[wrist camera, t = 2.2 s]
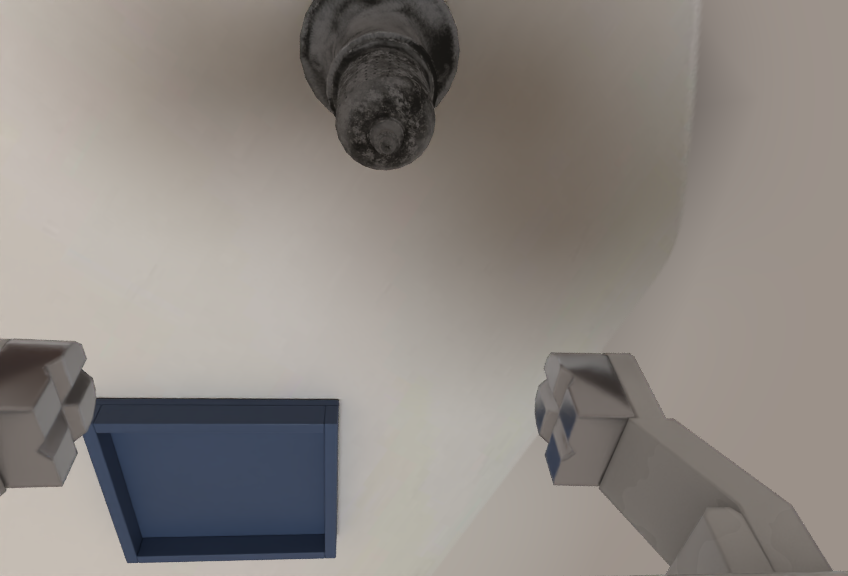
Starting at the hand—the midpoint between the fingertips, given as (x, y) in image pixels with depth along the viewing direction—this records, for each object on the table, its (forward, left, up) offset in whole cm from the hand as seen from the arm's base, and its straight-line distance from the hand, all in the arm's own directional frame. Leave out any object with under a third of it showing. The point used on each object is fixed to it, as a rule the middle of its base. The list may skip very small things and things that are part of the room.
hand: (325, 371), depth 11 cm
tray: (+7, +28, -19) cm, 35 cm away
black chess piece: (-1, -1, -19) cm, 19 cm away
